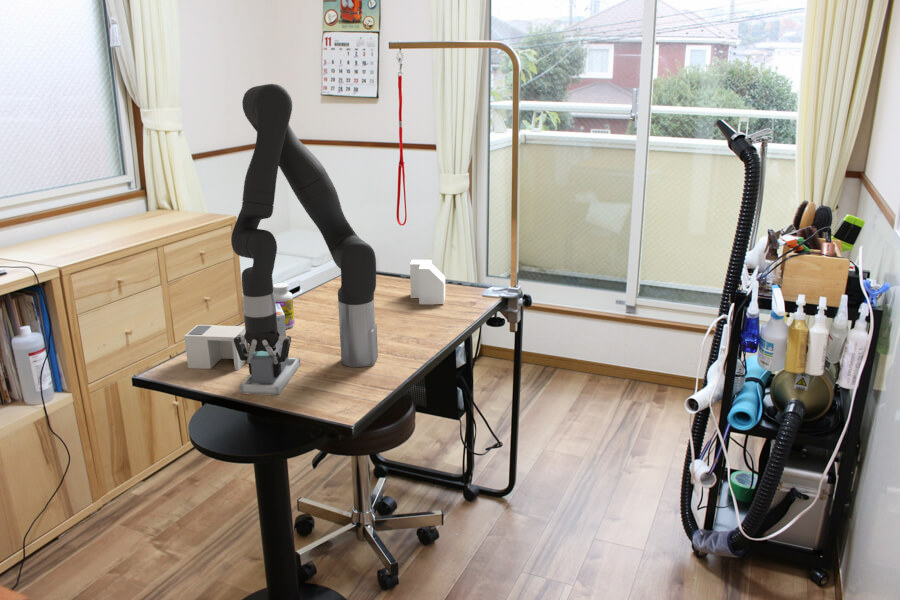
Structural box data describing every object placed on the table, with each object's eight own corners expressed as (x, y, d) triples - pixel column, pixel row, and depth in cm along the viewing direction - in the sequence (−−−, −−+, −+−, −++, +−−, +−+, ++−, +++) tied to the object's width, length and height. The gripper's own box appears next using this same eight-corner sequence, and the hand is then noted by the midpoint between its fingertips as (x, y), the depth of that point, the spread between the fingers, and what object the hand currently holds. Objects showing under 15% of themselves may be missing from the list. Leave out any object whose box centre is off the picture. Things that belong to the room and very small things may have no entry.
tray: (300, 364, 195) (299, 357, 194) (279, 395, 178) (278, 387, 177) (265, 363, 196) (264, 356, 195) (240, 393, 179) (239, 385, 178)
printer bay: (249, 357, 200) (246, 325, 197) (238, 369, 192) (235, 336, 189) (200, 356, 201) (197, 324, 198) (188, 367, 193) (184, 334, 190)
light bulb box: (258, 341, 211) (255, 305, 208) (282, 338, 213) (279, 302, 210) (263, 355, 201) (259, 317, 198) (288, 351, 204) (285, 314, 200)
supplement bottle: (274, 331, 218) (271, 289, 214) (270, 324, 224) (266, 283, 220) (297, 327, 221) (294, 286, 217) (292, 320, 227) (289, 280, 223)
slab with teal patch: (288, 361, 192) (287, 339, 190) (272, 383, 180) (270, 359, 178) (269, 361, 193) (268, 338, 191) (252, 382, 180) (250, 358, 178)
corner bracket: (412, 293, 252) (411, 259, 248) (445, 294, 251) (445, 260, 247) (409, 304, 242) (408, 268, 238) (443, 304, 241) (443, 269, 237)
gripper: (293, 306, 180) (298, 371, 185) (236, 304, 181) (242, 368, 187) (284, 316, 173) (289, 383, 178) (224, 315, 174) (231, 381, 179)
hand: (265, 375), depth 182 cm, fingers closed on slab with teal patch, 5 cm apart
